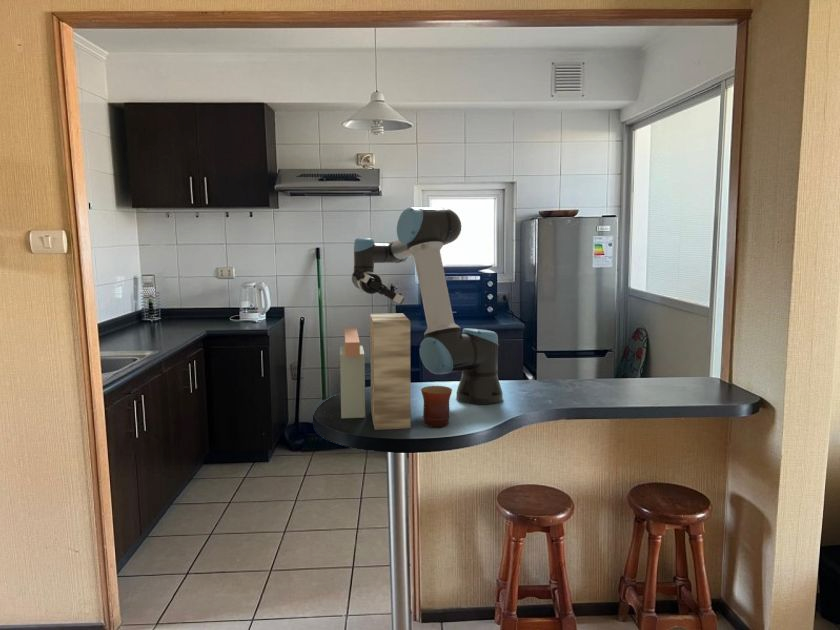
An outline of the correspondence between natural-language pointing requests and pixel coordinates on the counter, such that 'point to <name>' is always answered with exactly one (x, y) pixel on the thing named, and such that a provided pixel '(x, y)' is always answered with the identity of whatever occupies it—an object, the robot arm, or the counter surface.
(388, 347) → the stand
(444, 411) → the mug
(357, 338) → the batten
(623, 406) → the counter surface
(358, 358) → the post low
